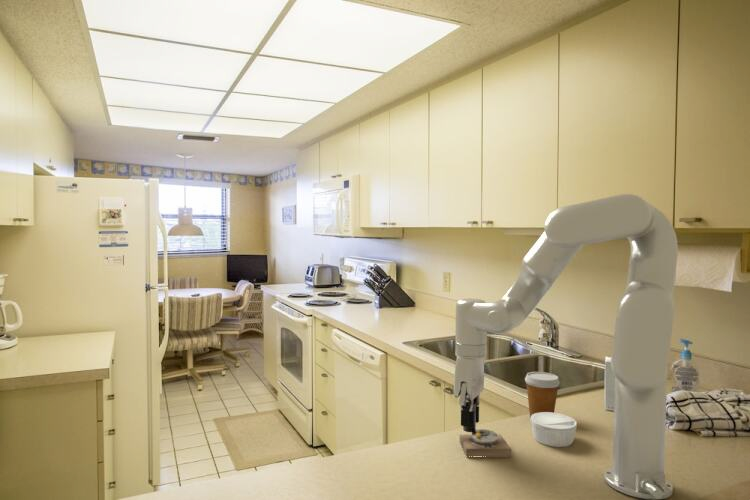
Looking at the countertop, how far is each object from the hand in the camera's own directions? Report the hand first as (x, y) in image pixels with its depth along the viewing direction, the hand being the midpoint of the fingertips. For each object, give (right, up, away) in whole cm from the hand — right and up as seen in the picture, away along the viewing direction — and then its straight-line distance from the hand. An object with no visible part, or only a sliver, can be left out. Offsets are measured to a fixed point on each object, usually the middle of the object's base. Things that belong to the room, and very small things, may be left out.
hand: (469, 423), depth 123 cm
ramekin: (+22, -6, +4) cm, 23 cm away
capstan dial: (+2, -3, -2) cm, 4 cm away
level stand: (+3, -6, -2) cm, 7 cm away
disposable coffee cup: (+24, -5, +20) cm, 31 cm away
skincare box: (+49, -5, +29) cm, 57 cm away
